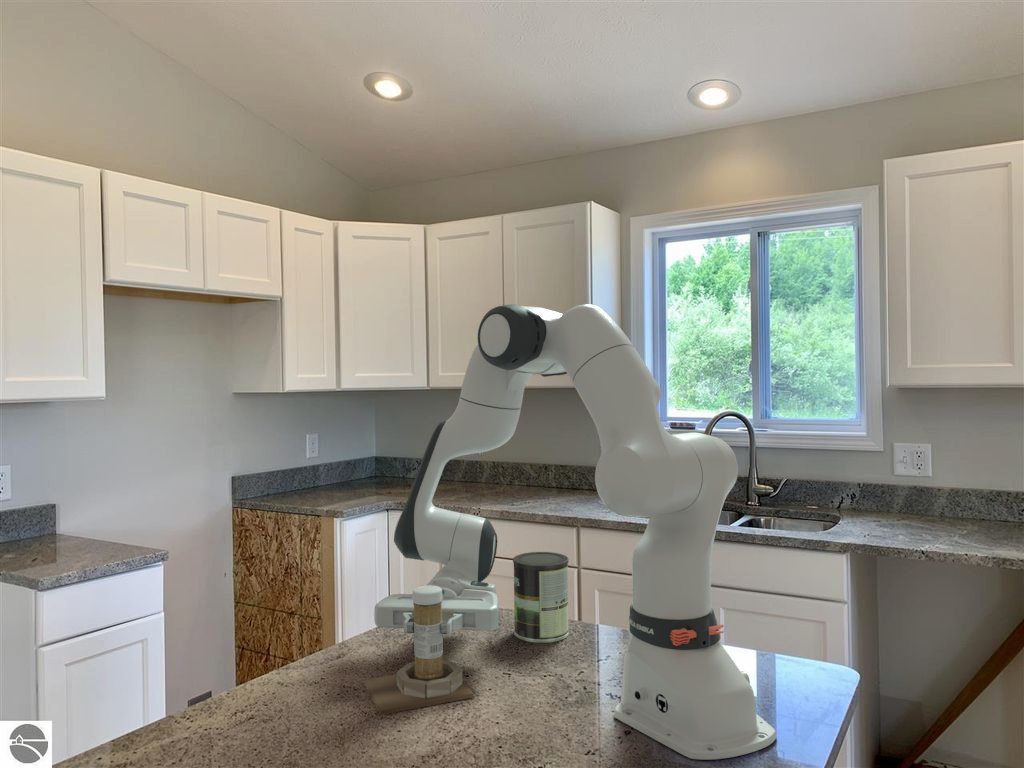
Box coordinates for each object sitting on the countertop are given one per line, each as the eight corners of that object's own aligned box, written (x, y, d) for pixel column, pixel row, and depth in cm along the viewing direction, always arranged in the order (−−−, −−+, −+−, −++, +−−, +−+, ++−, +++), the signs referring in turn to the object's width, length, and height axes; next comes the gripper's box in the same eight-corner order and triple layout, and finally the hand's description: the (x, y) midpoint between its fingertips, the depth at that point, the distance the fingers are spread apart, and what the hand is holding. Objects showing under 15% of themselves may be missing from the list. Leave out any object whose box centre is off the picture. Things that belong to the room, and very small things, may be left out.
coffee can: (511, 642, 135) (510, 564, 134) (516, 624, 145) (515, 551, 145) (568, 644, 134) (567, 565, 133) (570, 625, 144) (569, 551, 144)
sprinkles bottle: (437, 667, 119) (436, 582, 118) (448, 677, 114) (446, 590, 114) (409, 673, 117) (408, 586, 116) (419, 683, 112) (418, 594, 112)
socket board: (473, 697, 112) (473, 679, 112) (380, 715, 106) (380, 696, 106) (448, 669, 123) (448, 653, 123) (363, 683, 117) (363, 667, 117)
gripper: (387, 581, 130) (360, 606, 116) (504, 584, 127) (491, 610, 113) (387, 618, 130) (361, 647, 116) (504, 621, 127) (492, 651, 113)
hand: (426, 628), depth 115 cm, fingers closed on sprinkles bottle, 4 cm apart
